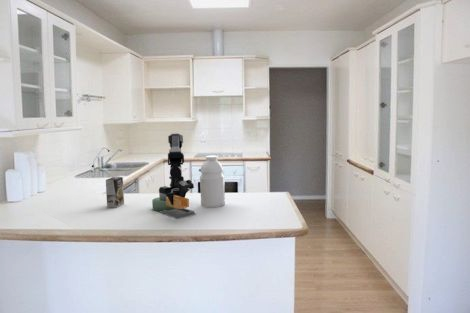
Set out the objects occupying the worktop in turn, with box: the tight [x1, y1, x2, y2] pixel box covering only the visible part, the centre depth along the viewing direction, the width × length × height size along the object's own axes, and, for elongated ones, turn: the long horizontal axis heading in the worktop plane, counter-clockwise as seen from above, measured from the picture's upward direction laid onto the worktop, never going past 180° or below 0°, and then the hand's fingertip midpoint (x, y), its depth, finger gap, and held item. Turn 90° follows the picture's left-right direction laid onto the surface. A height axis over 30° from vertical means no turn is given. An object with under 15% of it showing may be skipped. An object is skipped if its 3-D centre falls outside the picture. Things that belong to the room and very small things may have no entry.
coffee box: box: [105, 176, 125, 209], centre depth 223 cm, size 9×6×16 cm
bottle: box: [199, 155, 226, 208], centre depth 220 cm, size 14×14×28 cm
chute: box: [166, 195, 190, 209], centre depth 203 cm, size 12×6×4 cm, turn 44°
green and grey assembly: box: [151, 192, 196, 220], centre depth 210 cm, size 14×30×9 cm, turn 44°
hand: (177, 203), depth 204 cm, fingers closed on chute, 6 cm apart
